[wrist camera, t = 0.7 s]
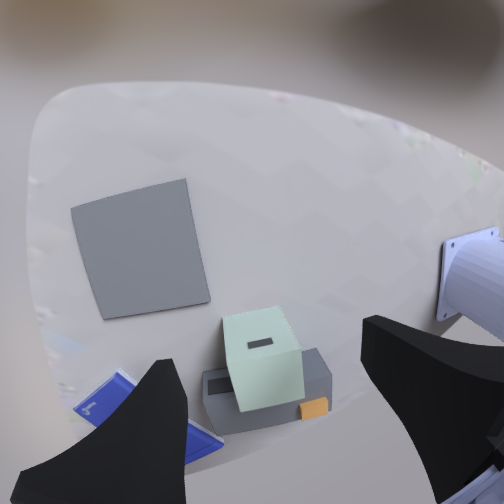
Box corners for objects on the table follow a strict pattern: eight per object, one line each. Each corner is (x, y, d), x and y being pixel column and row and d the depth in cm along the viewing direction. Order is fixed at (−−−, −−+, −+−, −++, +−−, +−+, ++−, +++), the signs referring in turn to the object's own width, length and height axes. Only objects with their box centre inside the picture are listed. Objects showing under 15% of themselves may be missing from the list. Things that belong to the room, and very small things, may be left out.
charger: (278, 304, 20) (300, 347, 14) (287, 367, 21) (306, 415, 16) (222, 315, 19) (226, 363, 14) (237, 378, 21) (245, 429, 16)
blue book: (71, 411, 19) (170, 471, 22) (114, 375, 18) (224, 446, 22) (76, 400, 20) (171, 461, 24) (119, 363, 20) (223, 435, 23)
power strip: (316, 347, 21) (335, 378, 17) (317, 383, 22) (334, 415, 18) (202, 370, 20) (202, 407, 16) (214, 405, 21) (217, 441, 17)
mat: (185, 178, 17) (184, 178, 16) (210, 299, 19) (210, 301, 18) (73, 207, 16) (70, 208, 15) (104, 316, 18) (103, 319, 18)
